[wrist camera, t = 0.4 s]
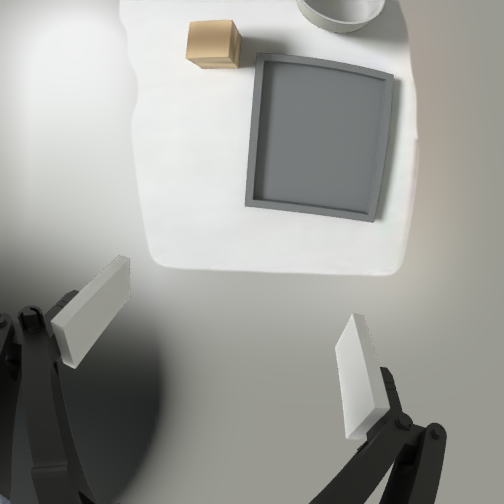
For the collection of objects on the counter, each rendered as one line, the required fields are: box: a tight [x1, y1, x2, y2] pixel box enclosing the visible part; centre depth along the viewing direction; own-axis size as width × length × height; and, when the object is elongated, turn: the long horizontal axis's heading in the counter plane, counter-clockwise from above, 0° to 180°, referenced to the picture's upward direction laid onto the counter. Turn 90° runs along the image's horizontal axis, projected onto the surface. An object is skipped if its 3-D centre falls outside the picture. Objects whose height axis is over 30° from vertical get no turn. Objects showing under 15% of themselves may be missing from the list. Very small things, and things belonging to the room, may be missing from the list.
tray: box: [245, 53, 394, 223], centre depth 35 cm, size 21×18×2 cm
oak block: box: [186, 20, 241, 69], centre depth 29 cm, size 5×5×7 cm
